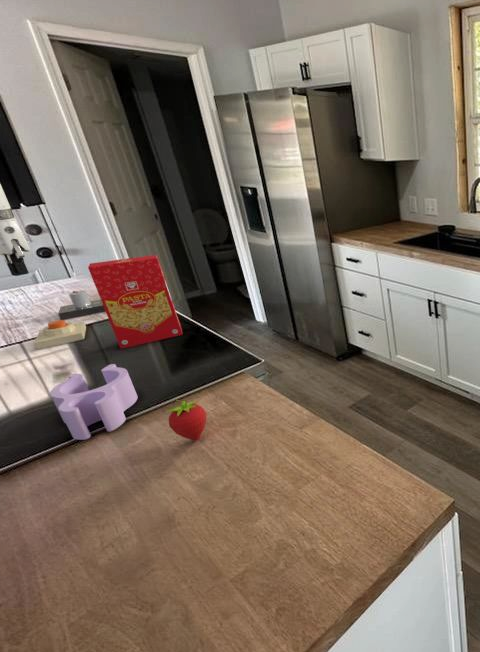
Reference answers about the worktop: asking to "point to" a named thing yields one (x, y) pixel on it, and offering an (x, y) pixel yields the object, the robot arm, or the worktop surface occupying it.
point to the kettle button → (56, 324)
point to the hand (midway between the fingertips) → (20, 274)
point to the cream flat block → (60, 335)
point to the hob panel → (81, 310)
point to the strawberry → (188, 420)
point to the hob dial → (80, 299)
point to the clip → (94, 401)
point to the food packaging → (136, 300)
